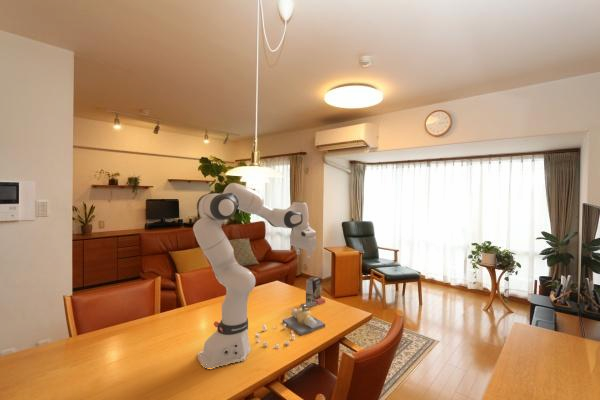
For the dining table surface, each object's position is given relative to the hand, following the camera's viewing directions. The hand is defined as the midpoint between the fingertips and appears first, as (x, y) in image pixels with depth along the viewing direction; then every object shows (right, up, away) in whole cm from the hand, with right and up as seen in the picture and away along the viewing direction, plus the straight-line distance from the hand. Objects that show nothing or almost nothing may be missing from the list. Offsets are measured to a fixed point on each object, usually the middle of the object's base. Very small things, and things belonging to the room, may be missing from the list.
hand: (303, 256), depth 149 cm
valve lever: (+5, -28, +3) cm, 28 cm away
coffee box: (+7, -36, +27) cm, 46 cm away
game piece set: (-14, -38, -14) cm, 43 cm away
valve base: (0, -37, -1) cm, 37 cm away
